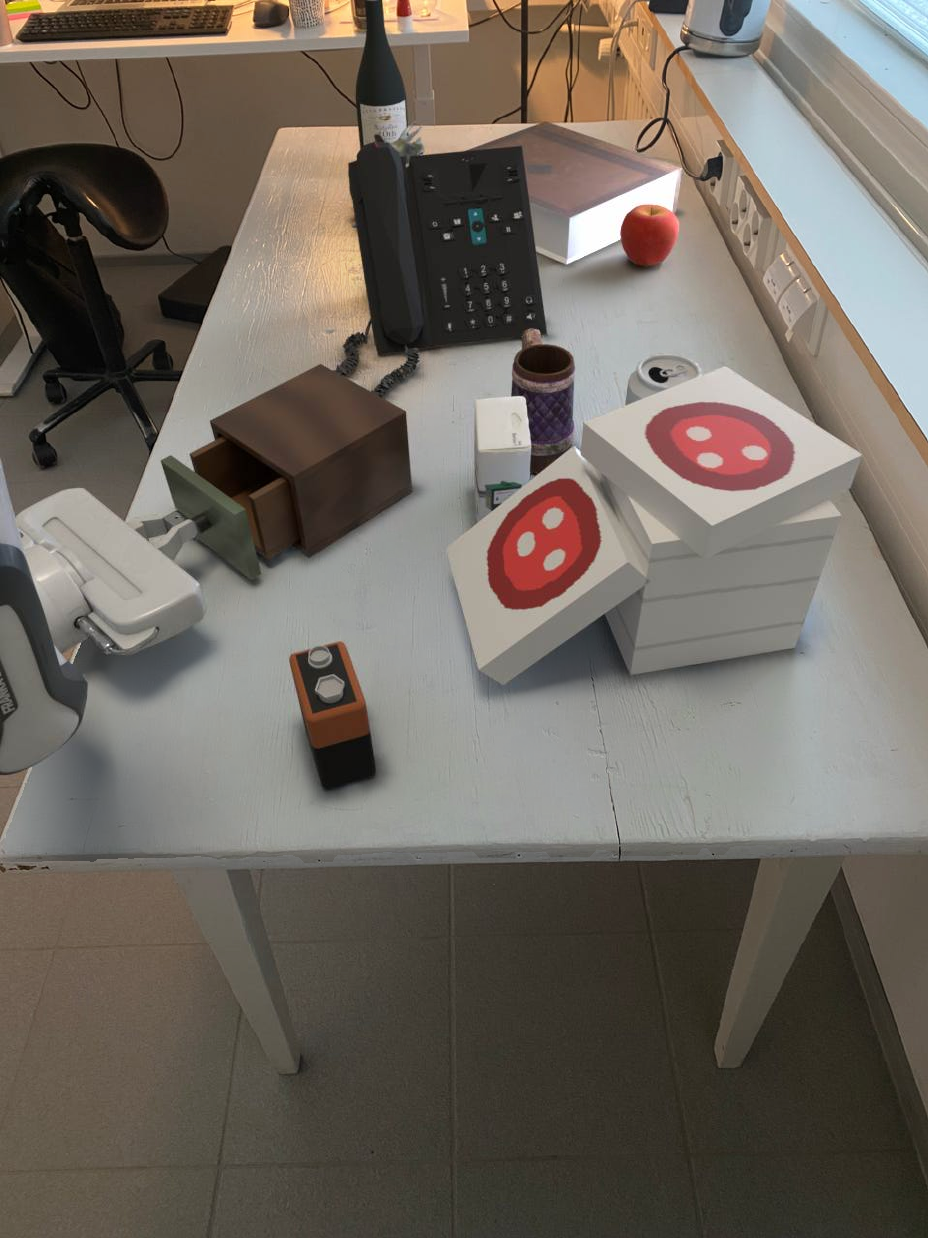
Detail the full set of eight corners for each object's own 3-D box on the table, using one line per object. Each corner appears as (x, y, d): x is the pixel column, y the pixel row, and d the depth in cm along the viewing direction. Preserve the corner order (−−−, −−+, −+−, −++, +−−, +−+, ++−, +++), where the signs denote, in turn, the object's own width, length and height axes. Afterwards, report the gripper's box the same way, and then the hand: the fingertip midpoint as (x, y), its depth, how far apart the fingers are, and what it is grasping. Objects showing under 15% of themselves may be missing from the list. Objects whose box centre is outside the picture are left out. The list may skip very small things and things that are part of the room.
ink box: (473, 493, 96) (472, 394, 87) (522, 491, 96) (525, 392, 87) (477, 549, 90) (476, 448, 81) (529, 547, 90) (533, 446, 81)
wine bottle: (413, 179, 153) (401, -41, 131) (365, 184, 152) (345, -37, 130) (406, 161, 158) (393, -53, 137) (360, 165, 157) (339, -50, 136)
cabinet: (309, 558, 90) (293, 476, 82) (230, 500, 96) (209, 420, 89) (412, 491, 96) (406, 411, 89) (332, 442, 103) (320, 363, 95)
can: (610, 450, 100) (622, 350, 92) (678, 444, 101) (696, 345, 92) (626, 493, 95) (640, 392, 87) (698, 487, 96) (719, 386, 87)
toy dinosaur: (361, 254, 134) (353, 173, 126) (311, 243, 137) (300, 164, 129) (430, 196, 148) (427, 120, 140) (384, 188, 150) (378, 113, 142)
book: (543, 162, 156) (545, 121, 152) (676, 212, 142) (682, 167, 137) (434, 206, 145) (433, 162, 141) (566, 264, 131) (569, 217, 126)
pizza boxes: (443, 565, 88) (435, 402, 75) (742, 521, 92) (783, 358, 79) (485, 723, 75) (483, 558, 62) (831, 664, 79) (898, 497, 66)
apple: (681, 271, 129) (689, 215, 123) (625, 276, 128) (631, 219, 122) (665, 247, 134) (672, 191, 128) (611, 251, 133) (616, 196, 128)
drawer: (241, 587, 86) (223, 521, 80) (170, 531, 91) (148, 466, 86) (353, 516, 92) (344, 450, 87) (281, 467, 98) (268, 403, 92)
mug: (578, 472, 98) (587, 371, 89) (512, 478, 97) (514, 377, 89) (559, 417, 105) (565, 318, 96) (497, 423, 104) (497, 324, 96)
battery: (323, 794, 71) (304, 713, 64) (304, 726, 76) (284, 644, 68) (378, 777, 72) (366, 696, 65) (356, 712, 76) (342, 629, 69)
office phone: (324, 417, 106) (298, 242, 91) (302, 299, 125) (278, 140, 111) (572, 383, 110) (585, 211, 95) (514, 274, 129) (517, 117, 114)
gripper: (102, 636, 70) (249, 546, 77) (-22, 517, 80) (118, 447, 87) (126, 689, 75) (263, 599, 82) (5, 570, 85) (136, 499, 92)
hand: (187, 520), depth 84 cm, fingers closed
